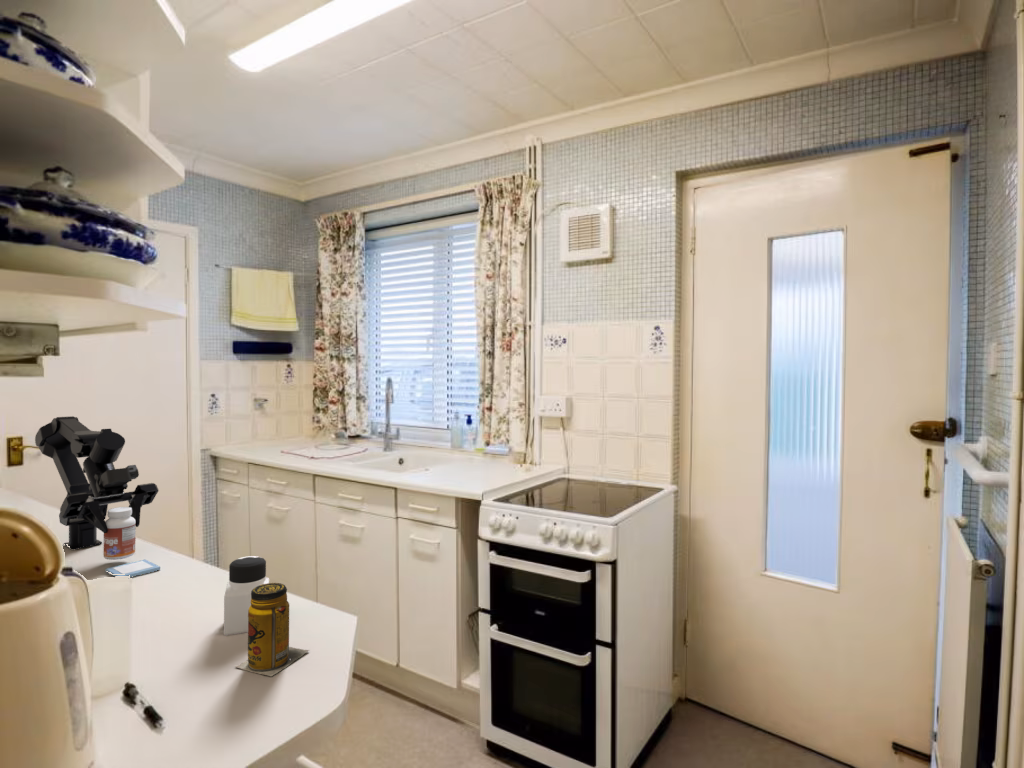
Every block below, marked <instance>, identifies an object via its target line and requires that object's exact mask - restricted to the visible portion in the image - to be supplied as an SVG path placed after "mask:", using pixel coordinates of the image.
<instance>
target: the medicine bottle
mask: <svg viewBox="0 0 1024 768" xmlns="http://www.w3.org/2000/svg"><path fill="white" fill-rule="evenodd" d="M228 568H229V570H228V571H229V573H228V576H229V577H228V578H229V579H228V582H227V584H226V588H225V591H224V592H225V593H224V596H223V597H224V598H223V635H224V636H232V635H238V634H239V635H240V634H245V633H247V634H248V610H249V607H250V606H251V591H252V590H253V589H254V588H255V587H257V586H259V585H262V584H267V583H270V578H269V577H267V560H266V559H265V558H264V557H261V556H258V555H256V556H255V555H249V556H242V557H239V558H236V559H234V560H232V561H231V563H230V564H229V565H228Z"/></svg>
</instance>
